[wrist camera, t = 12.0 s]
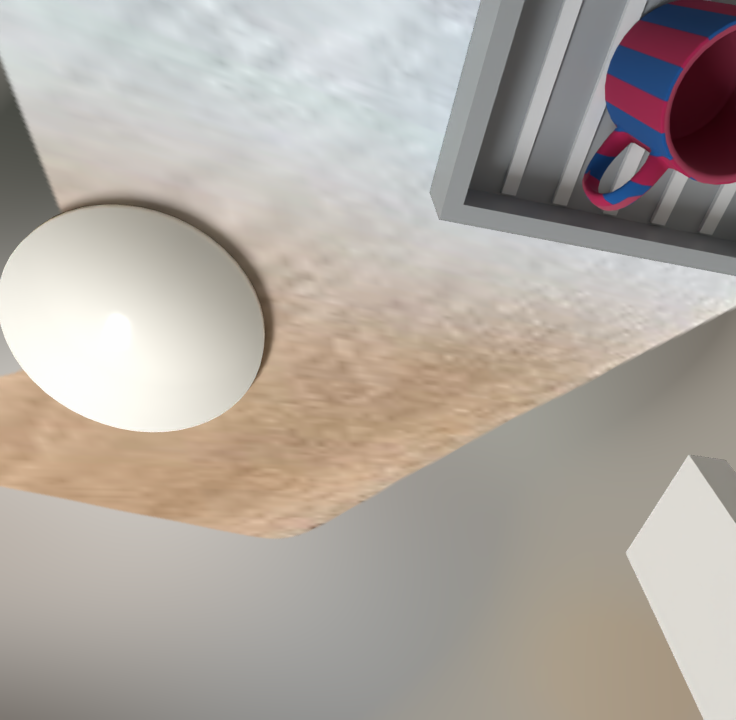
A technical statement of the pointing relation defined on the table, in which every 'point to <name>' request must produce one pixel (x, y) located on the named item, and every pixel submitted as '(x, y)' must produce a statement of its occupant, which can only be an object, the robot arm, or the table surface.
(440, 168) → the rack
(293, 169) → the table surface
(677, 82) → the mug
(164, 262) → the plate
